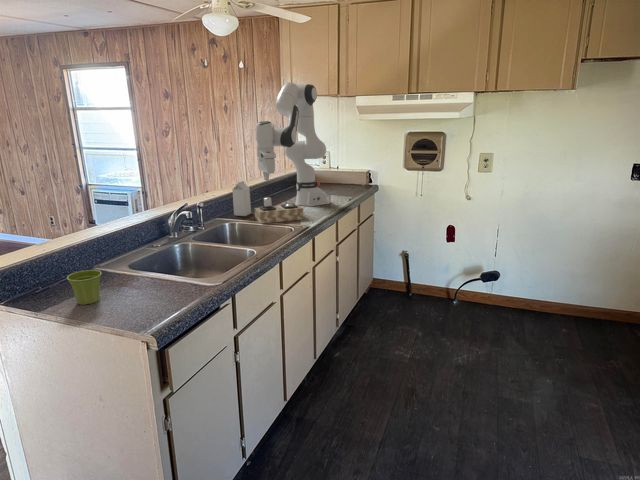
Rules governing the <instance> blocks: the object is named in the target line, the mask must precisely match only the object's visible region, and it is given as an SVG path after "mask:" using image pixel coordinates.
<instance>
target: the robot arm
mask: <svg viewBox="0 0 640 480" xmlns="http://www.w3.org/2000/svg"><path fill="white" fill-rule="evenodd" d="M317 97H318V92H317V88H316V87H315V86H314V85H313V84H308V83H307V84H304V83H303V84H301V83H300V84H297V83H294V82H289V81H288V82H285V84H283V86H282V87H281V89H280V91H279V92H278V95H277V97H276V99H275V109H276V110H277V112H278V113H279V114H280V115H282V116H284V117H287V118H288V122H287V125H286V126H285V127H274V126H273V124H272V121H269V120H262V121H259V122H258V123H256V126H255V127H256V128H255V140H256V158H257V168H258V171H260V172H262V174H263V180H265V181H267V182H268V181H269V180H270V174H275V171H276V152H275V150H274V149H275V148H274V147H284V155H285V156H286V158H288V159H289V160H291V162H292V163H293V164H294V166H295V170H296V183H295V185H296V198H295V202H294V204H297V205H298V206H303V207H304V206H305V207H306V206H307V207H315V206H321V205H329V204H331V203H332V202H331V200H330V199H328V197H327V196H328V195H327V193H326V192H325V191H324V190H322V188H319V186H321V182H319V181H316V179H315V177H316V174H315V173H316V172H315V171H316V170H315V167H313V166H312V165H311V164H308V163H306V160H318V159H322V158H324V157H325V156H326V154H327V147H326V144H325V142H323V141H322V140H321V139H320V138H319V137H318V135H317V133H316V130H315V129H316V128H315V113H314V112H315V111H314V103H315V102H316V100H317V99H318V98H317ZM297 134H300V135H302V136H303V137H305V139H306V140H297Z"/></svg>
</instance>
